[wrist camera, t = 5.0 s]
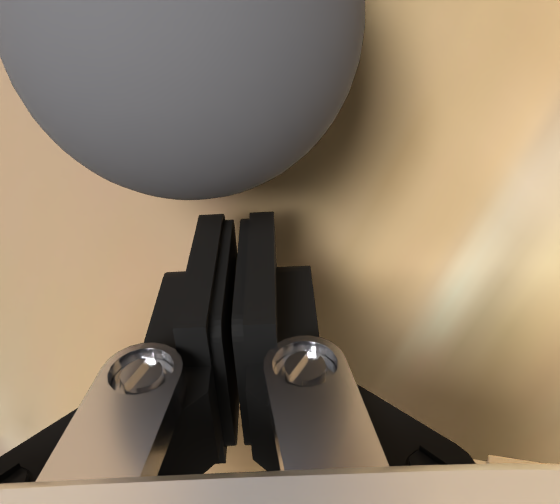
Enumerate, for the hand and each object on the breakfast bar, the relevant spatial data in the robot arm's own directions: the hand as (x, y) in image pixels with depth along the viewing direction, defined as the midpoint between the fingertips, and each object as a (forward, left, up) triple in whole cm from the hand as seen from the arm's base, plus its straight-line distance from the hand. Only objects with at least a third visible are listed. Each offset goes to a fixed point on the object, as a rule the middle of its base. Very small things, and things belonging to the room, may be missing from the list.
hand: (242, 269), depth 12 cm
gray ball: (+5, +1, +1) cm, 6 cm away
